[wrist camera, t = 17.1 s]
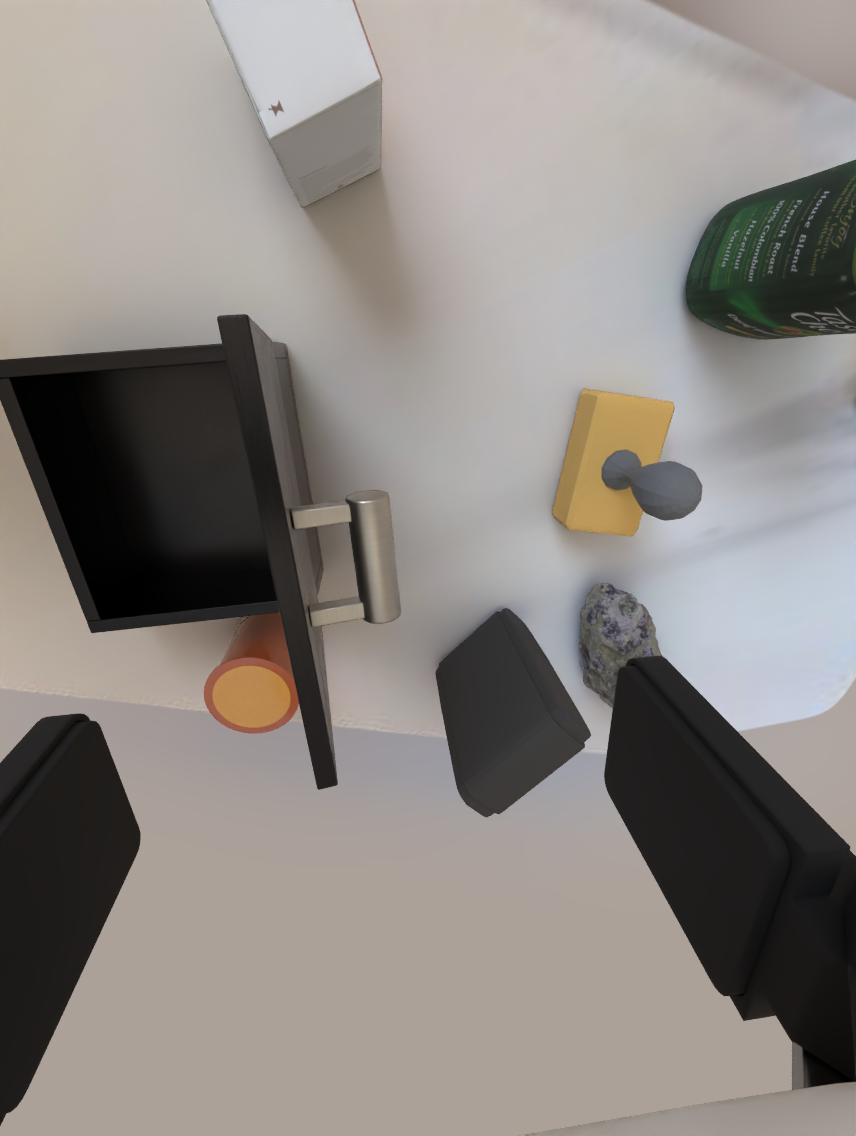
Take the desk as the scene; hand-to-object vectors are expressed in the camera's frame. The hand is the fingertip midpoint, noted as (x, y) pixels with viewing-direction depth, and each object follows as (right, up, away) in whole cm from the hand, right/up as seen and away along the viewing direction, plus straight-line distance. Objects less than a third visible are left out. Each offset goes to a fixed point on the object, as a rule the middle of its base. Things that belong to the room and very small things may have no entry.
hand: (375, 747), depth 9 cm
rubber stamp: (+14, +12, +30) cm, 36 cm away
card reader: (+6, -4, +36) cm, 36 cm away
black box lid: (-6, +5, +14) cm, 16 cm away
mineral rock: (+19, -3, +37) cm, 42 cm away
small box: (-6, +30, +20) cm, 37 cm away
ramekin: (-12, -3, +33) cm, 36 cm away
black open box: (-15, +10, +27) cm, 33 cm away
